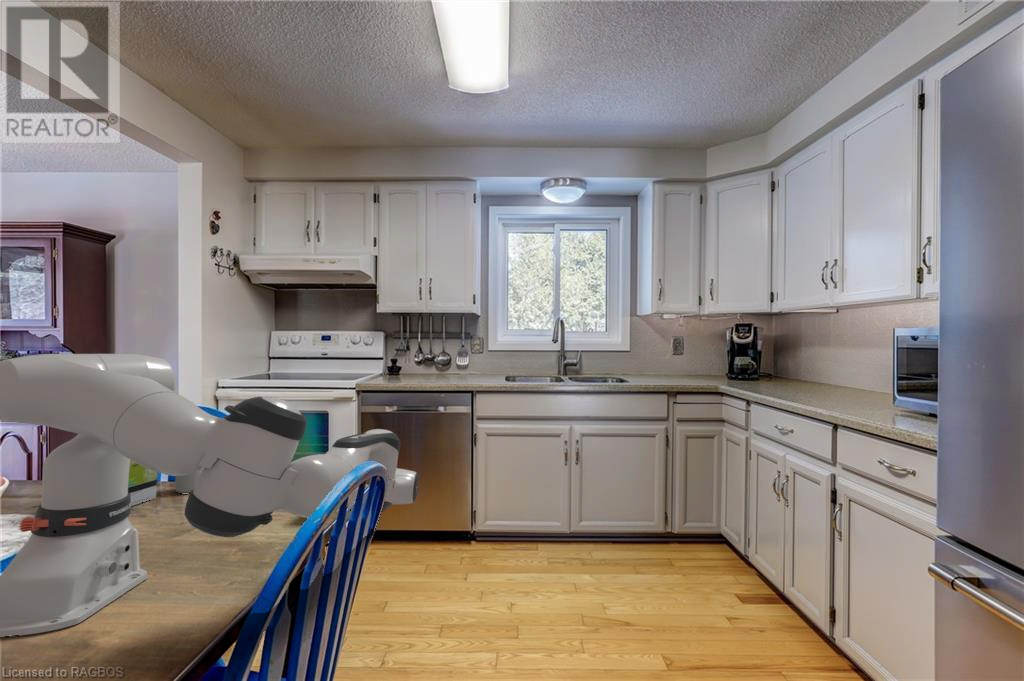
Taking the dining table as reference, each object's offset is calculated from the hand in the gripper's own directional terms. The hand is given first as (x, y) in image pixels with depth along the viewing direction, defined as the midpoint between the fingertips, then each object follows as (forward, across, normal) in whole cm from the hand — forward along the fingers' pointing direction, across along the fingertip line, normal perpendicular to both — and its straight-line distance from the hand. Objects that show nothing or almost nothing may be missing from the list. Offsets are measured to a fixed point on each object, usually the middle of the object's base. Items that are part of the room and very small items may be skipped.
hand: (304, 480), depth 123 cm
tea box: (+45, -9, -7) cm, 46 cm away
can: (+36, +6, -7) cm, 38 cm away
